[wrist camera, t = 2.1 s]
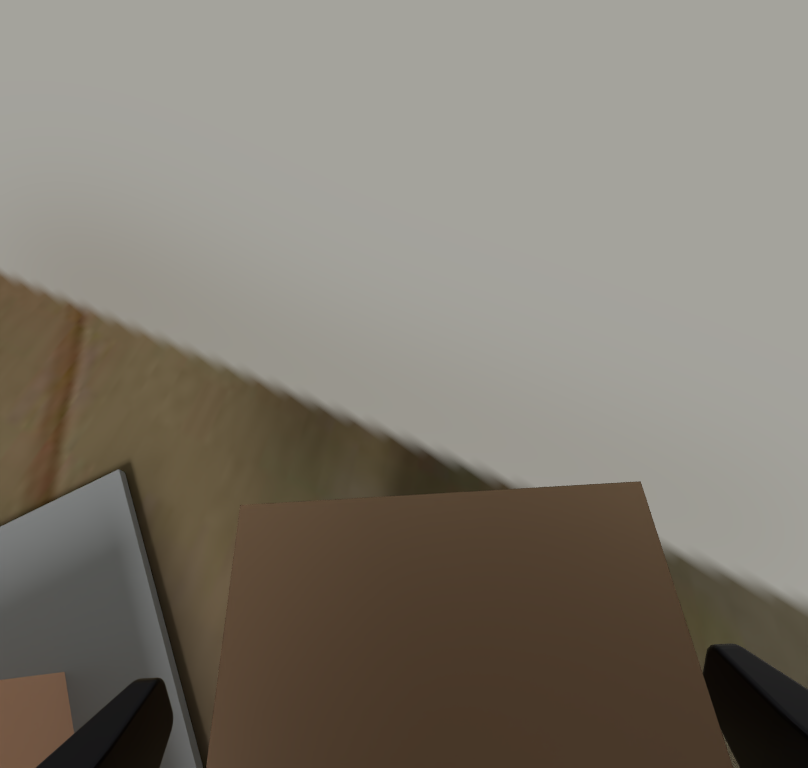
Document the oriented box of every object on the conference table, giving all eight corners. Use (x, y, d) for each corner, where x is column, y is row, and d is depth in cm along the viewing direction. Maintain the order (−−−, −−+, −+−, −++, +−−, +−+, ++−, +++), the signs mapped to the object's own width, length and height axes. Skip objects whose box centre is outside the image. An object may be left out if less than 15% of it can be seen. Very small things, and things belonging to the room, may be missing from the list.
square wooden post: (487, 716, 13) (871, 1194, 2) (374, 722, 13) (143, 1239, 2) (473, 590, 15) (640, 482, 4) (372, 596, 15) (239, 505, 4)
